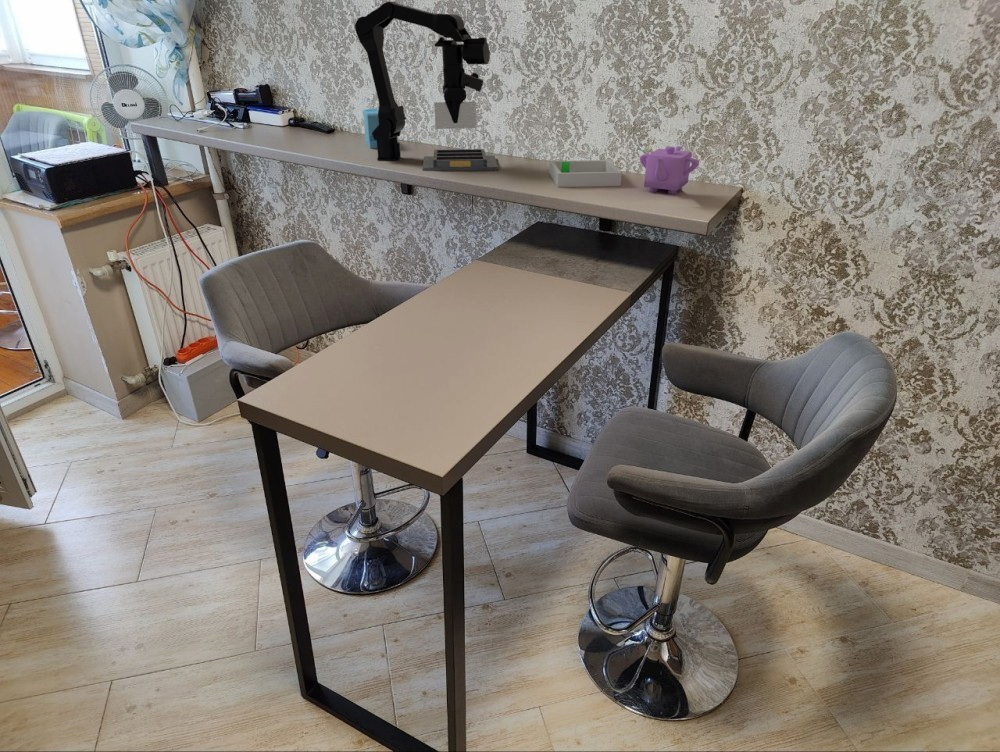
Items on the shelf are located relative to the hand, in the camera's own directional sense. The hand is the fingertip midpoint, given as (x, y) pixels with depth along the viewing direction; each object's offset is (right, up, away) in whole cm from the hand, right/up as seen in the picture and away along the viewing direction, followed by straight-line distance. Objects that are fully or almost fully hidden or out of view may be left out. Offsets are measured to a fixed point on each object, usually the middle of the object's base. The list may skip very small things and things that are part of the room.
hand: (455, 122), depth 202 cm
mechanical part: (+28, -26, -17) cm, 42 cm away
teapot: (+57, -26, -22) cm, 66 cm away
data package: (-29, +2, +31) cm, 42 cm away
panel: (0, -1, +1) cm, 2 cm away
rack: (+1, -11, +6) cm, 12 cm away
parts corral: (+36, -20, -11) cm, 43 cm away
